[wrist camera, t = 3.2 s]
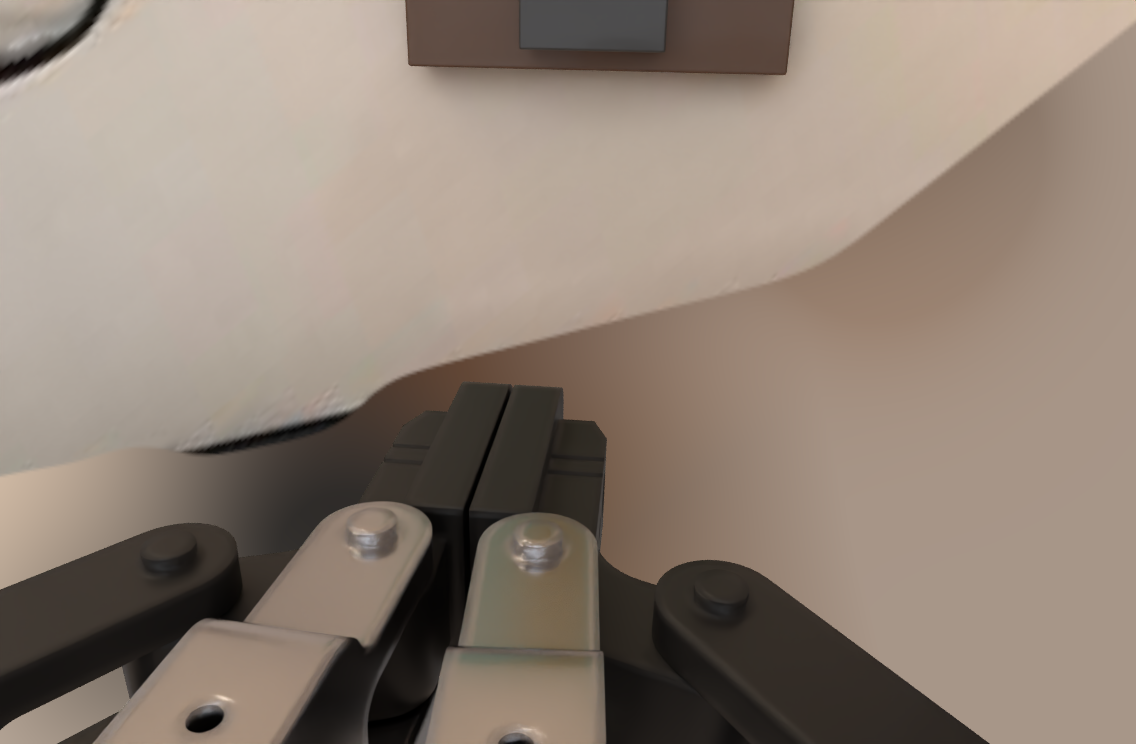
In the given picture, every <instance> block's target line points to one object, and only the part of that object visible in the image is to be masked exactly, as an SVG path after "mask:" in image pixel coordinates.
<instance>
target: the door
mask: <svg viewBox="0 0 1136 744" xmlns="http://www.w3.org/2000/svg"><path fill="white" fill-rule="evenodd" d="M405 2H406V23H407V44H408V64H409V65H410V66H433V67H474V68H516V69H557V70H599V71H640V72H681V73H723V74H764V75H785V74H786V73H787V64H788V55H789V45H790V36H791V27H792V18H793V8H794V0H405Z"/></svg>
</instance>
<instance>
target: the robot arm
mask: <svg viewBox="0 0 1136 744" xmlns="http://www.w3.org/2000/svg"><path fill="white" fill-rule="evenodd" d="M606 441H607V439H606V437H605V436H604V434H603V433H602V431H601V430H600V429H599V427H598V426H597V425H596V423H595V422H594V421H580V420H564V419H563V388H559V387H558V388H557V387H542V386H526V385H514V387H513V388H512V385H511V384H496V383H479V382H463V383H462V384H461V386H460V388H459V390H458V392H457V394H456V396H455V398H454V400H453V402H452V404H451V406H450V408H449V410H448V412H440V411H425V412H423V413H422V414H420V415H419V416H417V417H416V418H414V419H413V420H411V421H409V422H408V423H407V424H405V425H403V427H402V429H401V431H400V432H399V434H398V436H397V437H396V439H395V441H394V443H393V447H391V448H390V450H389V451H388V453H387V455H386V456H385V458H384V462H382V463H381V465H380V467H379V468H378V470H377V472H376V473H375V475H374V477H373V479H372V480H371V482H370V484H369V485H368V487H367V489H366V491H365V492H364V494H363V496H362V497H361V499H360V501H359V503H358V504H356V505H352V506H349V507H346V508H343V509H341V510H339V511H336V512H335V513H333V514H331V515H329V516H328V517H327V518H325V519H324V520H323V521H322V522H321V523H320V524H319V525H318V526H317V527H316V528H315V529H314V531H313V532H312V533H311V535H310V536H309V537H308V539H307V540H306V541H305V543H304V544H303V545H302V546H301V548H300V549H295V550H292V551H286V552H280V553H273V554H264V555H256V556H248V557H240V558H238V551H237V545H236V541H235V539H234V537H233V536H232V535H231V534H230V533H229V532H227V531H226V530H224V529H222V528H219V527H217V526H213V525H209V524H202V523H184V524H175V525H170V526H164V527H160V528H156V529H153V530H150V531H148V532H145V533H143V534H140V535H137V536H134V537H132V538H129V539H127V540H124V541H122V542H119V543H117V544H114V545H112V546H109V547H107V548H104V549H102V550H99V551H97V552H94V553H92V554H89V555H87V556H84V557H81V558H79V559H76V560H74V561H71V562H69V563H66V564H64V565H61V566H59V567H56V568H54V569H51V570H49V571H46V572H44V573H41V574H39V575H36V576H34V577H31V578H29V579H26V580H24V581H21V582H18V583H16V584H14V585H11V586H8V587H6V588H4V589H1V590H0V730H1V729H2V728H3V727H4V726H5V725H7V724H8V723H9V722H11V721H12V720H14V719H16V718H18V717H19V716H21V715H23V714H25V713H27V712H29V711H32V710H34V709H36V708H38V707H40V706H41V705H44V704H46V703H48V702H50V701H52V700H54V699H56V698H58V697H60V696H62V695H64V694H66V693H68V692H70V691H72V690H74V689H76V688H78V687H81V686H83V685H85V684H87V683H88V682H91V681H93V680H95V679H97V678H99V677H101V676H103V675H105V674H107V673H109V672H111V671H113V670H115V669H117V668H119V667H121V666H122V668H123V672H124V676H125V681H126V685H127V689H128V693H129V697H130V700H129V701H128V702H127V703H126V705H125V706H124V707H123V708H122V709H121V710H120V711H119V712H117V713H115V714H113V715H111V716H109V717H107V718H106V719H103V720H102V721H100V722H98V723H96V724H94V725H92V726H90V727H88V728H86V729H84V730H82V731H81V732H79V733H77V734H75V735H73V736H71V737H69V738H67V739H65V740H63V741H61V742H60V743H58V744H989V743H988V742H987V741H985V740H984V739H982V738H981V737H980V736H979V735H977V734H976V733H975V732H973V731H972V730H971V729H969V728H968V727H966V726H965V725H964V724H963V723H961V722H960V721H958V720H957V719H956V718H954V717H953V716H952V715H950V714H949V713H948V712H946V711H945V710H944V709H942V708H941V707H939V706H938V705H937V704H936V703H934V702H933V701H931V700H930V699H929V698H928V697H926V696H925V695H924V694H922V693H921V692H920V691H918V690H917V689H915V688H914V687H913V686H911V685H910V684H909V683H907V682H906V681H905V680H903V679H902V678H901V677H899V676H898V675H897V674H895V673H894V672H893V671H891V670H890V669H889V668H887V667H886V666H884V665H883V664H882V663H880V662H879V661H878V660H876V659H875V658H873V657H872V656H871V655H870V654H868V653H867V652H866V651H864V650H863V649H862V648H860V647H859V646H858V645H856V644H855V643H854V642H852V641H851V640H850V639H848V638H847V637H846V636H844V635H843V634H842V633H840V632H839V631H838V630H836V629H835V628H833V627H832V626H831V625H829V624H828V623H827V622H825V621H824V620H823V619H821V618H820V617H819V616H817V615H816V614H815V613H813V612H812V611H811V610H809V609H808V608H807V607H805V606H804V605H803V604H801V603H800V602H798V601H797V600H796V599H794V598H793V597H792V596H790V595H789V594H788V593H786V592H785V591H784V590H782V589H781V588H780V587H778V586H777V585H776V584H774V583H773V582H772V581H770V580H769V579H768V578H766V577H764V576H763V575H761V574H760V573H758V572H756V571H754V570H752V569H750V568H747V567H744V566H742V565H738V564H735V563H731V562H725V561H717V560H700V561H693V562H687V563H684V564H681V565H678V566H676V567H674V568H672V569H670V570H669V571H668V572H666V573H665V574H664V575H663V576H662V577H661V578H660V580H659V581H658V583H657V585H654V584H651V583H648V582H644V581H641V580H638V579H636V578H633V577H630V576H628V575H626V574H624V573H622V572H620V571H619V570H617V569H616V568H614V567H613V566H612V565H611V564H609V563H608V562H607V561H606V560H605V559H604V557H603V556H602V555H601V553H600V545H601V537H602V527H603V505H604V485H605V463H606V443H607V442H606ZM439 676H440V677H439Z"/></svg>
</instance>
